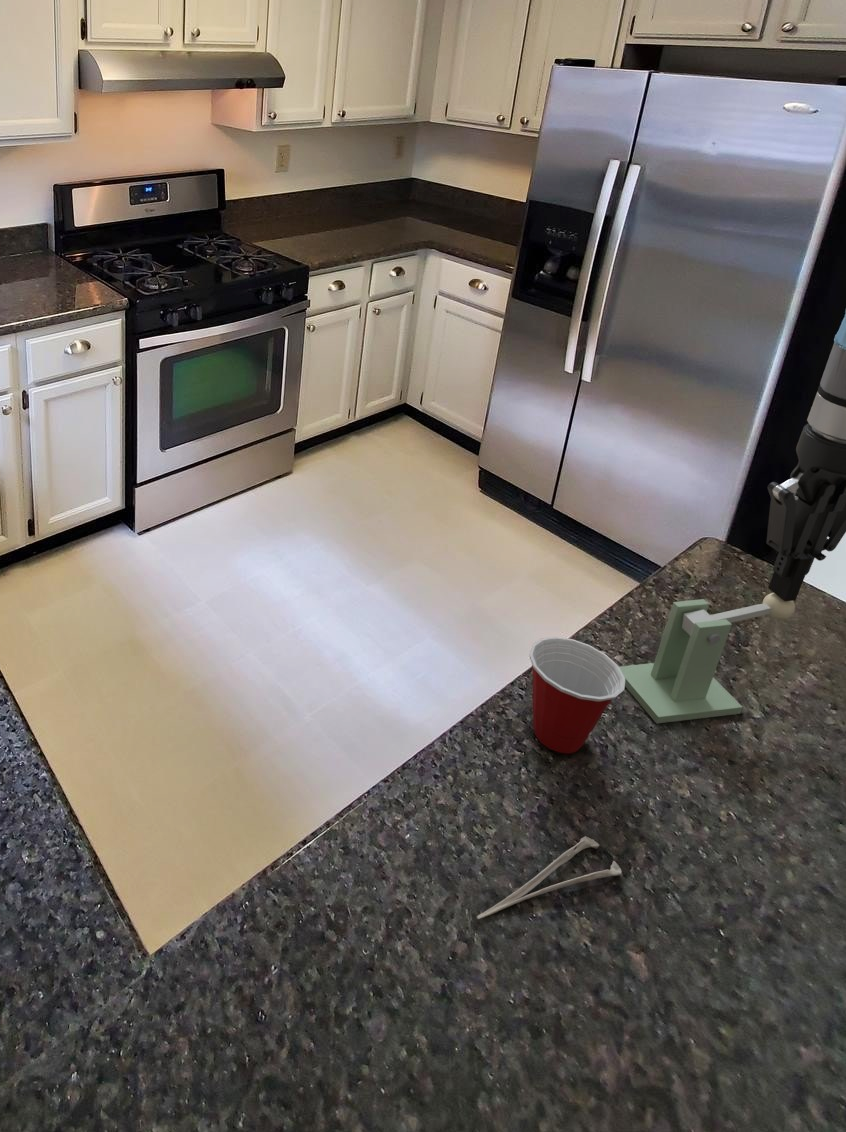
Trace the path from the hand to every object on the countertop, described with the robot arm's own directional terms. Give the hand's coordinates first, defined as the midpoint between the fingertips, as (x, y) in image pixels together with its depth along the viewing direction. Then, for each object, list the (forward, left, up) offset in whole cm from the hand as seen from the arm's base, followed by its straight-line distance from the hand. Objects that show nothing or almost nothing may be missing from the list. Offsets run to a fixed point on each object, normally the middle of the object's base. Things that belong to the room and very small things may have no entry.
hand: (781, 593), depth 103 cm
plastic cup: (+26, +16, -16) cm, 34 cm away
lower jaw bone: (+30, +38, -16) cm, 51 cm away
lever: (+4, +2, -4) cm, 7 cm away
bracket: (+10, +4, -16) cm, 19 cm away
